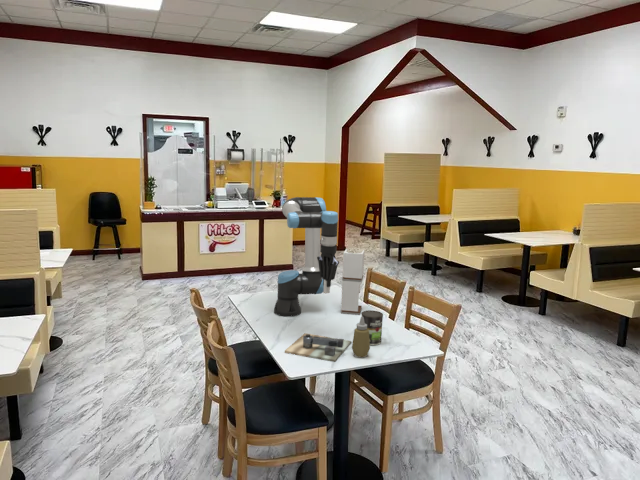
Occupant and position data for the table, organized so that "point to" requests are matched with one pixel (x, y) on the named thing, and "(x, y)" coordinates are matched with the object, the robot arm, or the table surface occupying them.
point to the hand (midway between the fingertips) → (326, 292)
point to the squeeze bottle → (361, 339)
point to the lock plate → (317, 349)
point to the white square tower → (352, 282)
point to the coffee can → (373, 325)
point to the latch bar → (321, 341)
